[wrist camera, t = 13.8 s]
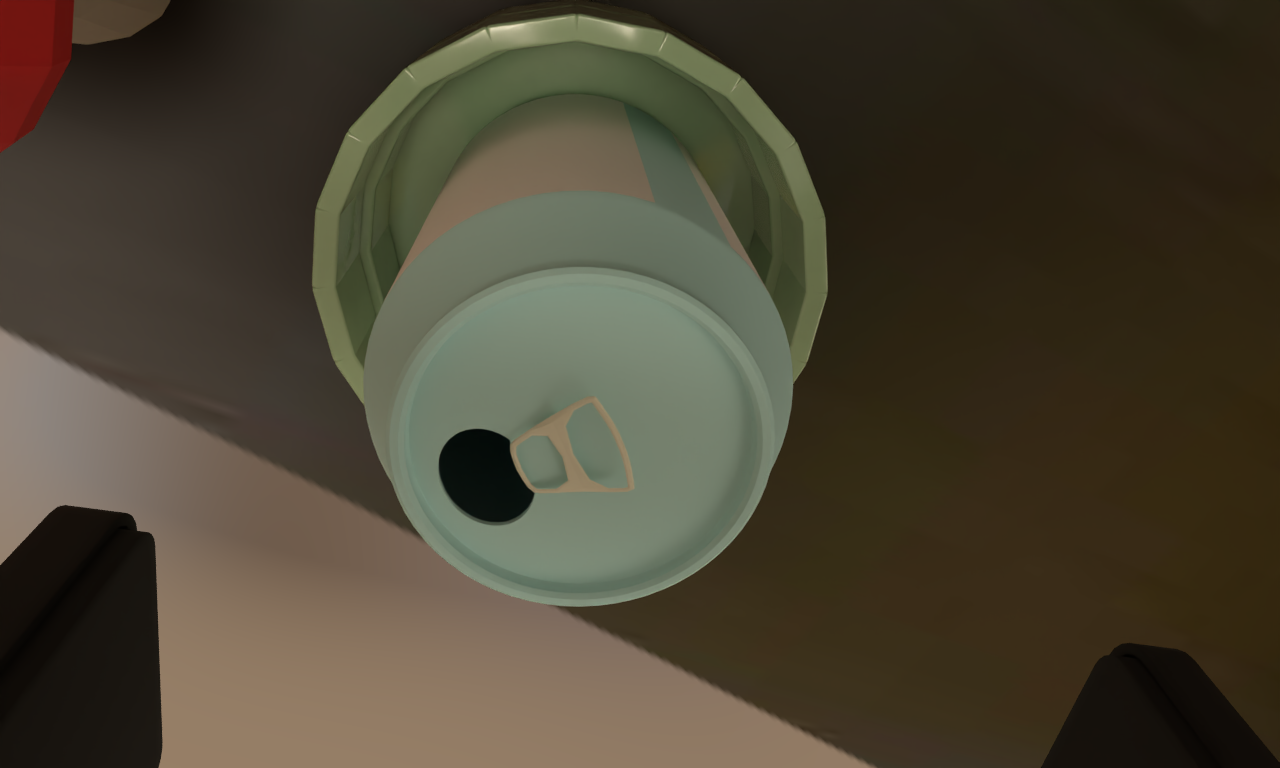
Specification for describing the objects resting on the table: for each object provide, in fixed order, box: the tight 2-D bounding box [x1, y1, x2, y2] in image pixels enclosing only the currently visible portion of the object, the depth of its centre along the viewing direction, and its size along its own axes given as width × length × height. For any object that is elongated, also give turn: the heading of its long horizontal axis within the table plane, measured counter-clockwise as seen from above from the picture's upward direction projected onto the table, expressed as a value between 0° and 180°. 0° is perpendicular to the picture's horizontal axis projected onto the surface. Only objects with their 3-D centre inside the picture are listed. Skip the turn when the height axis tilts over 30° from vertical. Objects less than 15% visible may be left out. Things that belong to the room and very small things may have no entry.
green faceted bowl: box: [312, 0, 828, 406], centre depth 22 cm, size 11×11×6 cm
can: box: [363, 94, 793, 606], centre depth 19 cm, size 7×7×12 cm
